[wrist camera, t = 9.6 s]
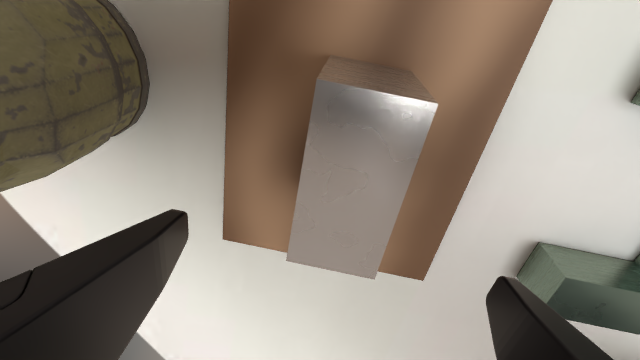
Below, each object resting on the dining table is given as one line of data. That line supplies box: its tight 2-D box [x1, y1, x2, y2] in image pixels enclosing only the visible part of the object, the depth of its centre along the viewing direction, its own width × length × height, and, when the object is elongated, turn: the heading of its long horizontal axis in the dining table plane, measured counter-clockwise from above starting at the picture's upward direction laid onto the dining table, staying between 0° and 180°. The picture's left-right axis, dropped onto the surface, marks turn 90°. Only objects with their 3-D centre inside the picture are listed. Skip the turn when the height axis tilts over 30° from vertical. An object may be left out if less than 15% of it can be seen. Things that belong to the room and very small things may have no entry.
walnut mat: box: [223, 0, 553, 281], centre depth 18 cm, size 14×18×1 cm
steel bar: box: [286, 55, 438, 279], centre depth 15 cm, size 4×8×6 cm, turn 170°
